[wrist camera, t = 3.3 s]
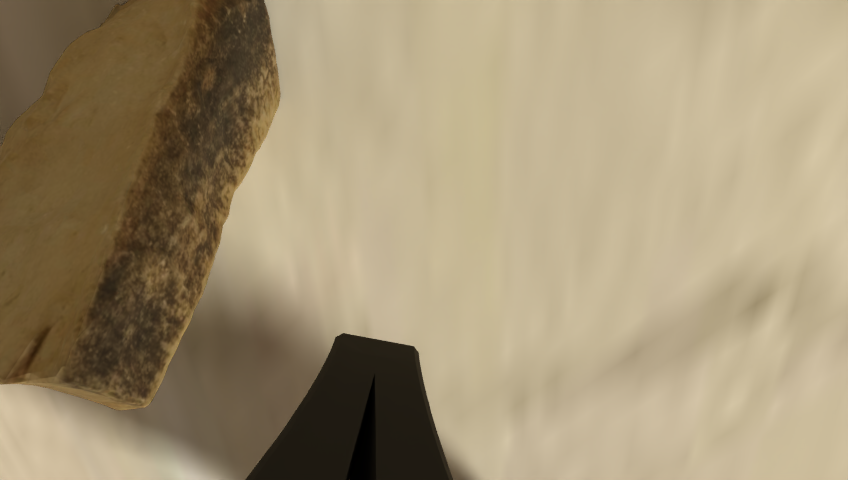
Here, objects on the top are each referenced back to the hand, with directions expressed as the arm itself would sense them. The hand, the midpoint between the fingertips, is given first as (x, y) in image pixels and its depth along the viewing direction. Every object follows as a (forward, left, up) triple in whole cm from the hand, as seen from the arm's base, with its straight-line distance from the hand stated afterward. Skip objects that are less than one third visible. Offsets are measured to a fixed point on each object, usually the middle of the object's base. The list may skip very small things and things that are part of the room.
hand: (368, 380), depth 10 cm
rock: (+8, 0, -9) cm, 12 cm away
